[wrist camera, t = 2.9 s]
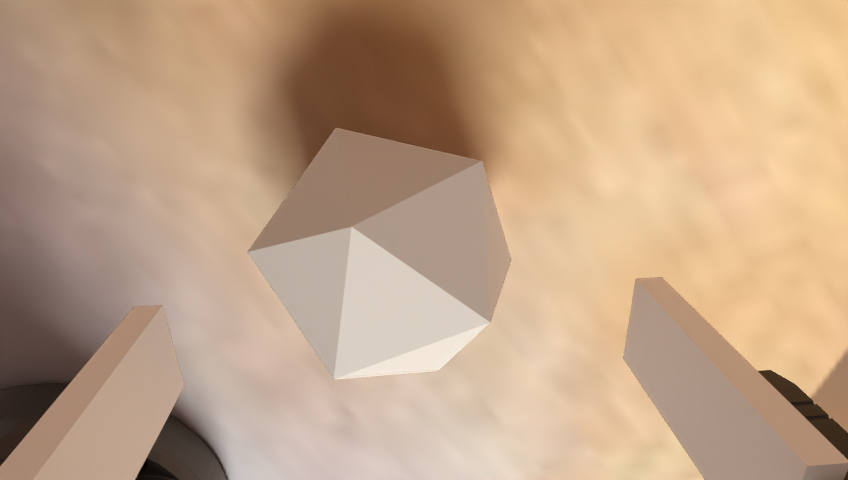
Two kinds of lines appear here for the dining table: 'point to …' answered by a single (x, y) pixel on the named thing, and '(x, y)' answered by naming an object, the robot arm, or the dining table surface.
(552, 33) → the dining table surface
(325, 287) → the die
